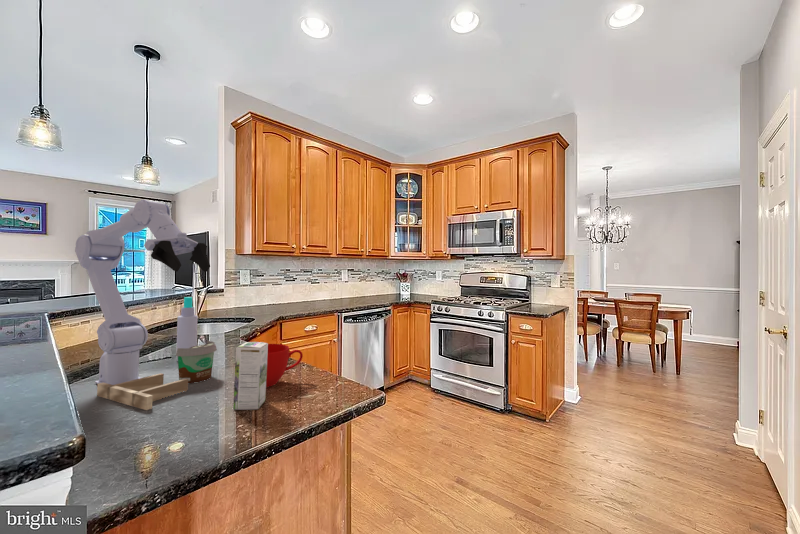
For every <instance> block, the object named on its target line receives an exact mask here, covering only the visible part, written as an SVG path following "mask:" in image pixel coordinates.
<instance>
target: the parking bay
mask: <svg viewBox="0 0 800 534" xmlns="http://www.w3.org/2000/svg"><path fill="white" fill-rule="evenodd" d="M164 375H165V374H164V373H161V372H160V373H157V374H152V375H150V376H149V375H147V376H145V377H141V378H140V379H135V380H131V381H127V382H123V383H119V384H115V385H111V384H107V383H99V384H97V385H96V386H97V391H96V396H97V397H100V398H103V399H107V400H110V401H113V402H117V403H119V404H123V405H127V406H131V407H134V408H137V409H141V410H144V411H149V410H152V409H153V402H156V401H158V400H159V401H160V400H162V398H163V399H166V398H169V397H172V396H175V395H174V394H176V395H178V394H177V393H179V394H181V393H180V392H182V393H184V392H183V391H185V392H188V391H189V384H188V379H182V380H179V379H178V380H175V381H171V382H168V383H167V382H166V383H165V384H164ZM187 390H188V391H187ZM171 395H172V396H171ZM168 396H169V397H168ZM165 397H166V398H165Z"/></svg>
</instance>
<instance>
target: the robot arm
mask: <svg viewBox="0 0 800 534" xmlns="http://www.w3.org/2000/svg"><path fill="white" fill-rule="evenodd" d="M147 228H148V230H150V232H151V234H152V235H153V236H154V238H153V239H150V238H148V239H147V240H146V241H145V243H143V246H144V248H145V249H146V251H149V252H151V254H150V257H151V259H152V260H155V261H158V262H161V263H162V264H164V265H166V266H167V267H168V268H170V269H171V270H172V271H173V272H176V273H177V272H178V271H179V270H180V269H181V267H182V264H181V262H180V260H179V258H178V257H177V256H178V255H182V254H183V255H184V254H187V253H189V254H190V253H191V257H190V258H189V260H190V261H191V262H193V263H195V264H196V265H197V267H199V268H200V269H201V271H203V272H205V273H206V272H208V270H209V269H210V267H211V264H210V260H209V258H208V251H207V250H208V246H207V244H206V243H204V242H198V241H195V240H193V239H191V238H190V237H188V234H187V232H182V231H181V229H180V228H179V227H178V225H177V224H176V222H175V221H174V220H173V218H172V217H171V210H170V207H169V205H167V203H164V202H159V201H154V200H149V199H141V200H138V201H137V202H135V204H134V208H133V207H131V208H129V209H128V211H125V213H122V215H121V216H120V217H119V220H118V221H116V222H114V223H111V224H109V225H105V226H104V227H101V228H97V229H93V230H89V231H86V232H85V234H81V235H79V236H78V237H77V239H76V241H75V247H74V252H75V254H76V255H75V256H76V257H77V260H78V262H79V265H80V266H81V268H83V269H85V271H86V273H87V276H88V278H89V279H88V280H89V281H90V284H91V286H92V289H93V292H94V295H95V297H96V299H97V302H98V305H99V307H100V309H101V312H102V315H103V317H104V321H103V322H102V323H101V324H100V325H99V326H98V328H97V330H96V333H97V334H96V335H97V345H98V346H99V348H100V349H101V351H103V353H102V354H101V356H100V357H99V369H98V380H95V381H94V384H99V383H107V384H111V385H115V384H119V383H123V382H127V381H131V380H135V379H140V378H142V377H141V376H139V374H140V372H139V371H140V369H139V367H140V350H141V349H143V346H144V345H145V344H146V343H147V341H148V338H149V332H148V329H147V328H146V326H145V325H144V324H143V323H142V321H141V319H140V318H138V317H136V316H133V315H131V314H129V313H128V310H127V308H126V306H125V304H124V303H125V302H124V301H123V299H122V296H121V293H120V291H119V289H118V285H117V284H116V281H115V279H114V277H113V274H112V271H111V270H113V269H116V268H117V267H118V265H119V263H120V262H121V258H122V256H123V254H124V251H125V240H124V236H126V235H127V234H129V233H139V232H141V231H143V230H144V229H147Z"/></svg>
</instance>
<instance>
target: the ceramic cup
mask: <svg viewBox="0 0 800 534" xmlns="http://www.w3.org/2000/svg"><path fill="white" fill-rule="evenodd" d="M267 344H268V355H267V379H266V388H269V386H270V387H272V386H275V385H276V384H277V383H278V382H279V381H280V380H281V378H282V377H283V375H284V374H285V372H286V371H289V370H291V369H293V368H295V367H297V366H298V365H299V364H300V363H301V361H302V360H303V357H304V356H303V352H302V351H301V350H300V349H293V350H291V351H290V347H289V345H286V344H279V343H267ZM295 353H299V358H298V360H297V361H296V362H295V363H294V364H291V365H289V366H288V363H289V359H290V358H291V356H292V355H293V354H295Z"/></svg>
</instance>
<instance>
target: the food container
mask: <svg viewBox="0 0 800 534" xmlns="http://www.w3.org/2000/svg"><path fill="white" fill-rule="evenodd" d="M176 351H177V352H176V353H175V356H178V361H177V364H178V367H177V368H178V370H177V371H178V380H182V379H188V383H190V384H195V383H194V382H198V383H201V382H200V381H202V382H205V381H204V380H206V381H208V380H210V379H211V378H212V372H213V364H214V356H215V355H214V354H215V352H217V351H218V350H217V345H216V343H215V341H211V340H207V341H206V343H205V344H201V345H197V346H193V347H190V348H178V349H177V348H176ZM209 378H210V379H209ZM207 379H208V380H207Z"/></svg>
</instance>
